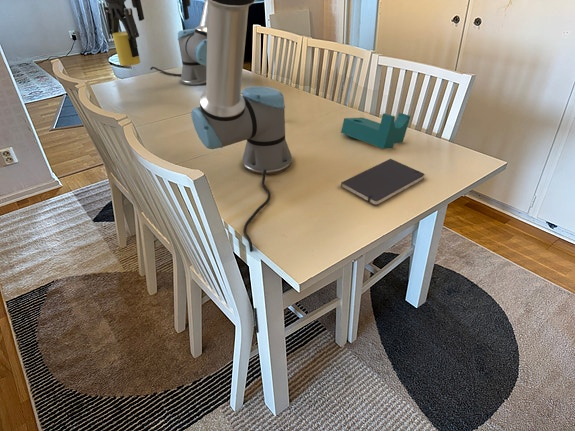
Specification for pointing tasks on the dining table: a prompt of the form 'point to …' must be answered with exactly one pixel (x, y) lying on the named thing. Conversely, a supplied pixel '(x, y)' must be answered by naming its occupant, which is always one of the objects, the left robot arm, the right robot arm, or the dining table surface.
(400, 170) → the notebook
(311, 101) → the dining table surface
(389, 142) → the teal l-shaped bracket
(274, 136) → the right robot arm
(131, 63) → the can
